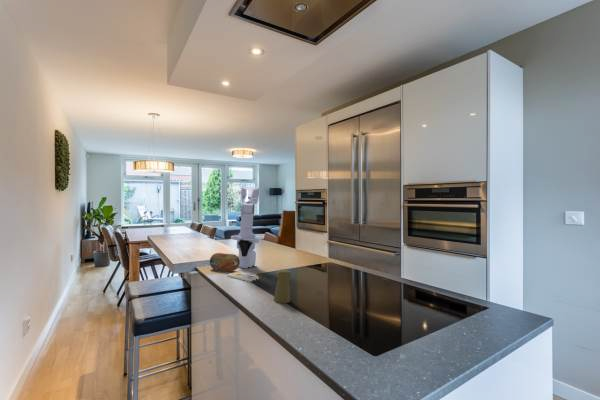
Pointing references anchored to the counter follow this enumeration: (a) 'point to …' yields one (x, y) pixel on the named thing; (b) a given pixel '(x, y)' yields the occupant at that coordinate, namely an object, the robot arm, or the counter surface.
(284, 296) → the olive green tapered cylinder
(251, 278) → the label board
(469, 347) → the counter surface
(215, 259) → the tin
